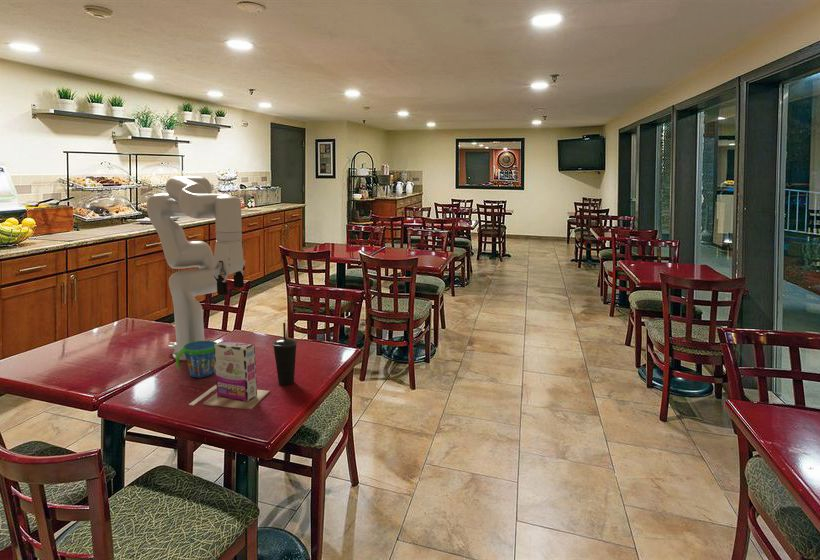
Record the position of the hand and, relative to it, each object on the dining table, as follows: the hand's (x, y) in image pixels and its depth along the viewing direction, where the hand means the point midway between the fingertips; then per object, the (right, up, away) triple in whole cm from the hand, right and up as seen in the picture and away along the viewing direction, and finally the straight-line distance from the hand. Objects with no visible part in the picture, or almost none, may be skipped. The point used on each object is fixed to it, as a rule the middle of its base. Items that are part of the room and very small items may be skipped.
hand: (230, 290), depth 159 cm
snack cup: (-13, -28, +10) cm, 33 cm away
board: (+5, -32, -8) cm, 33 cm away
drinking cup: (+16, -30, +4) cm, 34 cm away
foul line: (-6, -31, -6) cm, 33 cm away
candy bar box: (+5, -32, -8) cm, 33 cm away
